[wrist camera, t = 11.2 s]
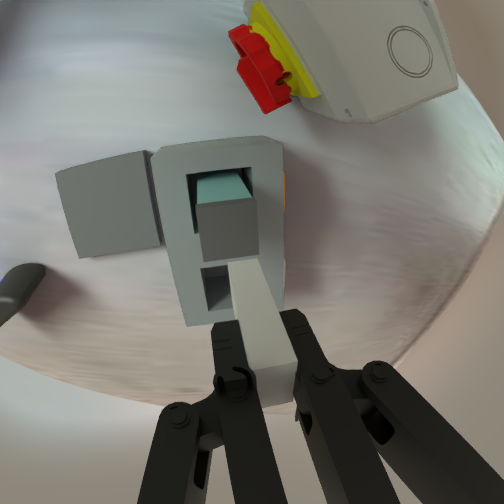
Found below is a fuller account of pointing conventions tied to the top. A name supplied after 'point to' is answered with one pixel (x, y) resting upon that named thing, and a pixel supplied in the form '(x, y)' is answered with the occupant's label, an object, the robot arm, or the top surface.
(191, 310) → the junction block
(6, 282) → the dark grey curved block
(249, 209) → the plug
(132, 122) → the top surface
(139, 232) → the block
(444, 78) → the electrical switch box
